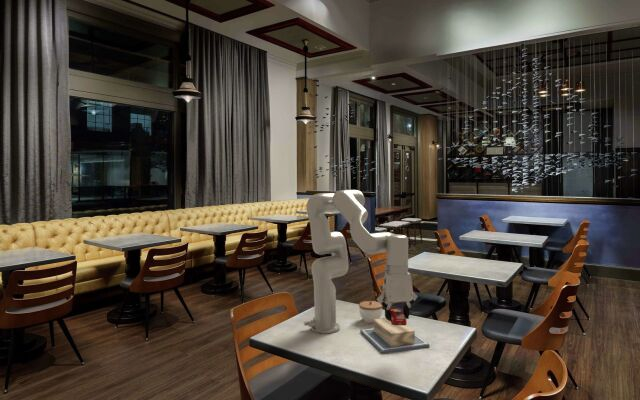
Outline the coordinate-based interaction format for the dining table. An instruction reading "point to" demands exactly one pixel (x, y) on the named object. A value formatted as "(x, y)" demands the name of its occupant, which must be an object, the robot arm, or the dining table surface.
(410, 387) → the dining table surface
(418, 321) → the dining table surface
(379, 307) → the lidded jar
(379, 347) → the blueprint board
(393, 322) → the race car
